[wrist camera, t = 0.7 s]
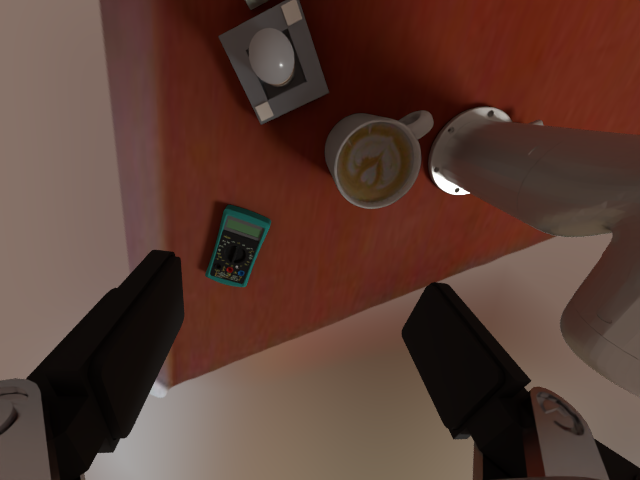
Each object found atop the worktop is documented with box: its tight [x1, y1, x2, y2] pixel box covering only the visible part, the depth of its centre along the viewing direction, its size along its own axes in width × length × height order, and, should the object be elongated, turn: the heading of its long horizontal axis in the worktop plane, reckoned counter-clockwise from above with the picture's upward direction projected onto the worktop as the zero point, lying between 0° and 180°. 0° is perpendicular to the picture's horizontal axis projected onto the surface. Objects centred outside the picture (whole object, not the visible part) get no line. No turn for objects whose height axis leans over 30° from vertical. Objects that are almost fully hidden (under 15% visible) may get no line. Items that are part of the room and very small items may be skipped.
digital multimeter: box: [205, 205, 271, 287], centre depth 41 cm, size 7×15×3 cm, turn 155°
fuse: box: [249, 28, 295, 88], centre depth 25 cm, size 4×4×9 cm
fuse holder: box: [218, 0, 329, 125], centre depth 28 cm, size 9×9×4 cm
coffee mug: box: [325, 110, 434, 209], centre depth 31 cm, size 13×10×10 cm
